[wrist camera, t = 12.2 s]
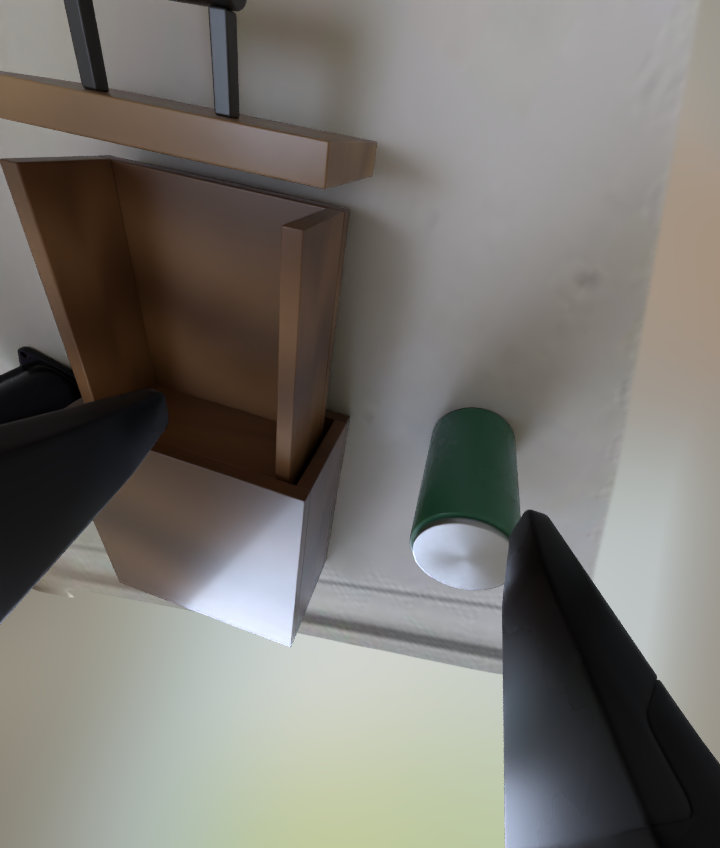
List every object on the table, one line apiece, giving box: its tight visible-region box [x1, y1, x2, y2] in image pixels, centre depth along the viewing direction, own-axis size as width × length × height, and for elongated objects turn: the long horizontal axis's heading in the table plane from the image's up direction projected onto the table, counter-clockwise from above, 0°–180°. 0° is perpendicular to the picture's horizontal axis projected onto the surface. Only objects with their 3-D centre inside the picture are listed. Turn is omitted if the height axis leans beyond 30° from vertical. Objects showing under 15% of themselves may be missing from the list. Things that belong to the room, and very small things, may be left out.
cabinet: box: [64, 398, 350, 647], centre depth 28 cm, size 17×15×8 cm
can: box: [410, 408, 521, 590], centre depth 20 cm, size 5×5×8 cm
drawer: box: [0, 0, 377, 485], centre depth 18 cm, size 19×13×6 cm
